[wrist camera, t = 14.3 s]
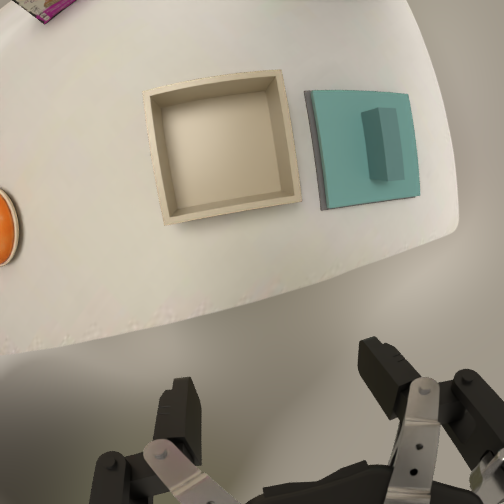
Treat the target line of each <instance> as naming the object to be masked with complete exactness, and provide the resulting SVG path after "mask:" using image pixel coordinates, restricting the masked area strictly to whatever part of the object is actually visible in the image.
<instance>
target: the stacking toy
mask: <svg viewBox="0 0 504 504" xmlns="http://www.w3.org/2000/svg"><path fill="white" fill-rule="evenodd" d="M18 239H19V225H18V218H17V214H16V211H15V208H14V205H13V203H12V201H11V200H10V198H9V197H8V195H7V194H6V193H5V192H4V191H3V190H1V189H0V267H1V266H4V265H6V264H7V263H8V262H9V261H10V260H11V259H12V258H13V256H14V254H15V252H16V249H17V245H18Z"/></svg>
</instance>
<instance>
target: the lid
mask: <svg viewBox="0 0 504 504" xmlns="http://www.w3.org/2000/svg"><path fill="white" fill-rule="evenodd" d="M310 93H311V99H312V104H313V110H314V116H315V121H316V128H317V134H318V140H319V147H320V154H321V161H322V169H323V177H324V185H325V194H326V203H327V208H336V207H343V206H349V205H356V204H363V203H370V202H377V201H384V200H391V199H399V198H406V197H414V196H420V181H419V168H418V157H417V148H416V139H415V132H414V125H413V119H412V113H411V107H410V101H409V96H408V94H402V93H391V92H377V91H355V90H312V91H311V92H310Z"/></svg>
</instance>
